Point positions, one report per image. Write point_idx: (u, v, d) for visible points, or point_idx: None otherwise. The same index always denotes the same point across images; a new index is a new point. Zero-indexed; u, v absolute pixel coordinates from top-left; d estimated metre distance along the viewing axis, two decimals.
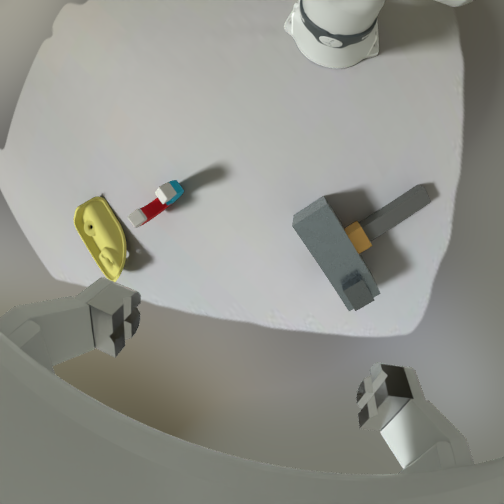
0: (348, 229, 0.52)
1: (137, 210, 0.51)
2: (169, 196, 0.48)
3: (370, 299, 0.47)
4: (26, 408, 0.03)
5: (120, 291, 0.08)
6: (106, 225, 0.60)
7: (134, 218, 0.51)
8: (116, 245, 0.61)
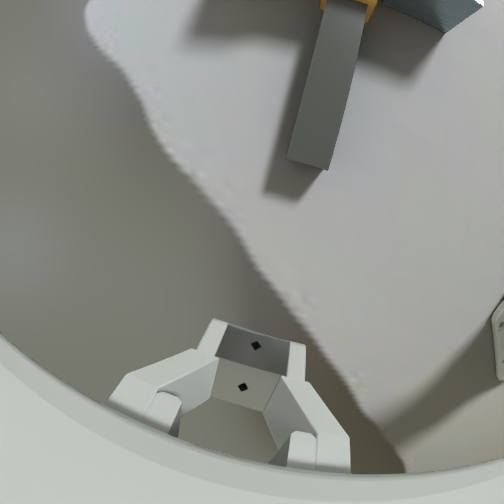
0: None
1: None
2: None
3: None
4: (26, 408, 0.03)
5: (243, 335, 0.08)
6: None
7: None
8: None
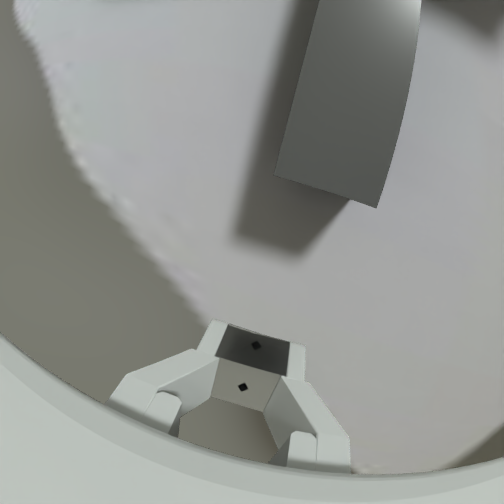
0: None
1: None
2: None
3: None
4: (26, 408, 0.03)
5: (243, 335, 0.08)
6: None
7: None
8: None
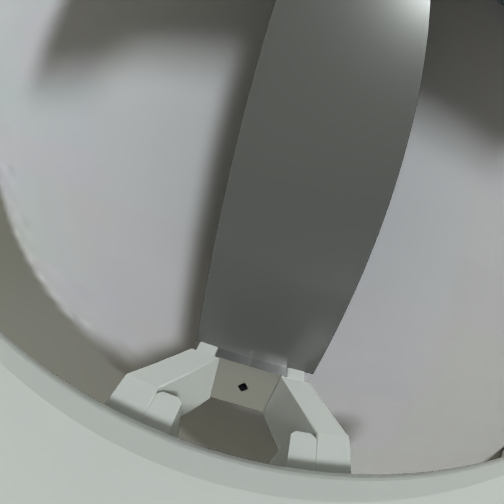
0: None
1: None
2: None
3: None
4: (26, 408, 0.03)
5: None
6: None
7: None
8: None
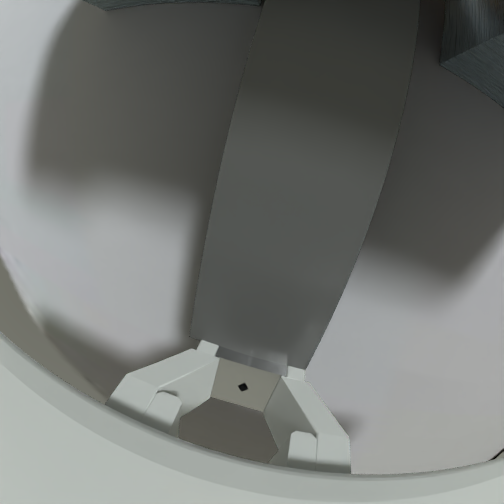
0: None
1: None
2: None
3: None
4: (26, 408, 0.03)
5: None
6: None
7: None
8: None
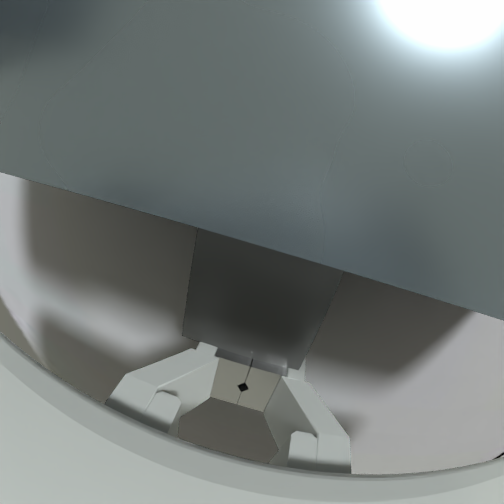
0: None
1: None
2: None
3: None
4: (26, 408, 0.03)
5: None
6: None
7: None
8: None
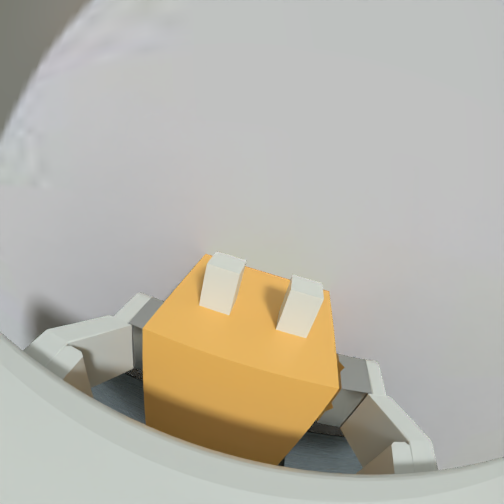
0: None
1: None
2: None
3: None
4: (26, 408, 0.03)
5: None
6: None
7: None
8: None
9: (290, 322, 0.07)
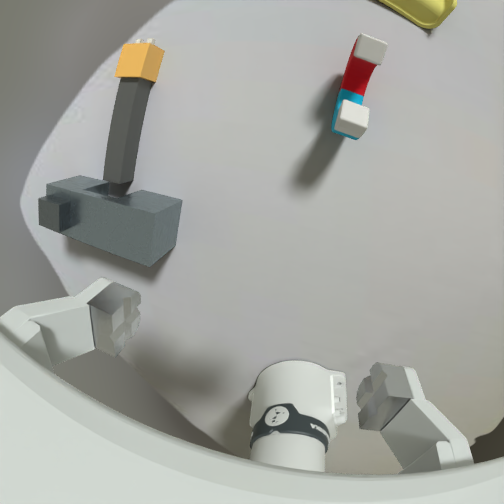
0: (153, 64, 0.30)
1: (378, 62, 0.20)
2: (340, 122, 0.23)
3: (41, 222, 0.32)
4: (26, 408, 0.03)
5: (120, 291, 0.08)
6: None
7: (374, 47, 0.19)
8: None
9: None
